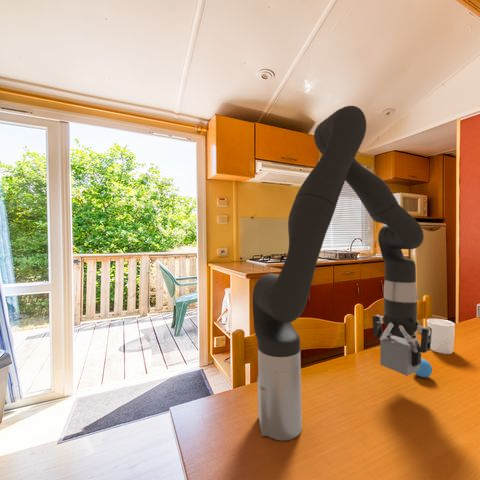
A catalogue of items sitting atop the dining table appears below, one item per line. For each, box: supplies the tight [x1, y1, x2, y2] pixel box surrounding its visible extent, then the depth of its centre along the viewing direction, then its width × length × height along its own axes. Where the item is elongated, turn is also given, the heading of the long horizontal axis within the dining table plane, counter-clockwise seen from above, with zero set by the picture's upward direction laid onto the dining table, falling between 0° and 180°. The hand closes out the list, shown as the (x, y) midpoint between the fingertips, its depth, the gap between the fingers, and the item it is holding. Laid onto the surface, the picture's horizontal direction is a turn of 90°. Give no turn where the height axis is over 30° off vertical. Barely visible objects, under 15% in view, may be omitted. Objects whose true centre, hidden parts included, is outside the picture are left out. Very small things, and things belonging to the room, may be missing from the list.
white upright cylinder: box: [426, 318, 456, 355], centre depth 92 cm, size 8×8×10 cm
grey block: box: [379, 335, 420, 377], centre depth 69 cm, size 7×7×7 cm
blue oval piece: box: [413, 358, 433, 378], centre depth 75 cm, size 5×5×5 cm
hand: (400, 359), depth 69 cm, fingers closed on grey block, 6 cm apart
